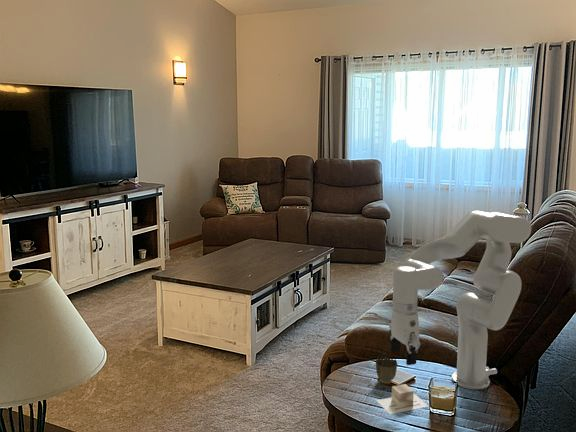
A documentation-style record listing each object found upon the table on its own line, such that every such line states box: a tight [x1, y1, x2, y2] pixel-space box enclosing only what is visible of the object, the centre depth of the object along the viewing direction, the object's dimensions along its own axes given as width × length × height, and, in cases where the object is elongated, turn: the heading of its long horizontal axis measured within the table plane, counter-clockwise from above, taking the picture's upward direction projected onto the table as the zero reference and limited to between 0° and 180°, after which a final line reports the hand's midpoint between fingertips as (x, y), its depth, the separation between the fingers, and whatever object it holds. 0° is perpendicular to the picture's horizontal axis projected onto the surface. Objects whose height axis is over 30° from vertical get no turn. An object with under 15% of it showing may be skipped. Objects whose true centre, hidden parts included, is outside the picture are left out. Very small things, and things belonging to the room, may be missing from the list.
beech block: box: [391, 383, 415, 408], centre depth 185 cm, size 5×5×5 cm
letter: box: [376, 393, 429, 415], centre depth 185 cm, size 14×9×1 cm, turn 109°
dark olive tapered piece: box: [375, 356, 398, 386], centre depth 199 cm, size 8×7×8 cm
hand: (403, 357), depth 182 cm, fingers open, 9 cm apart
